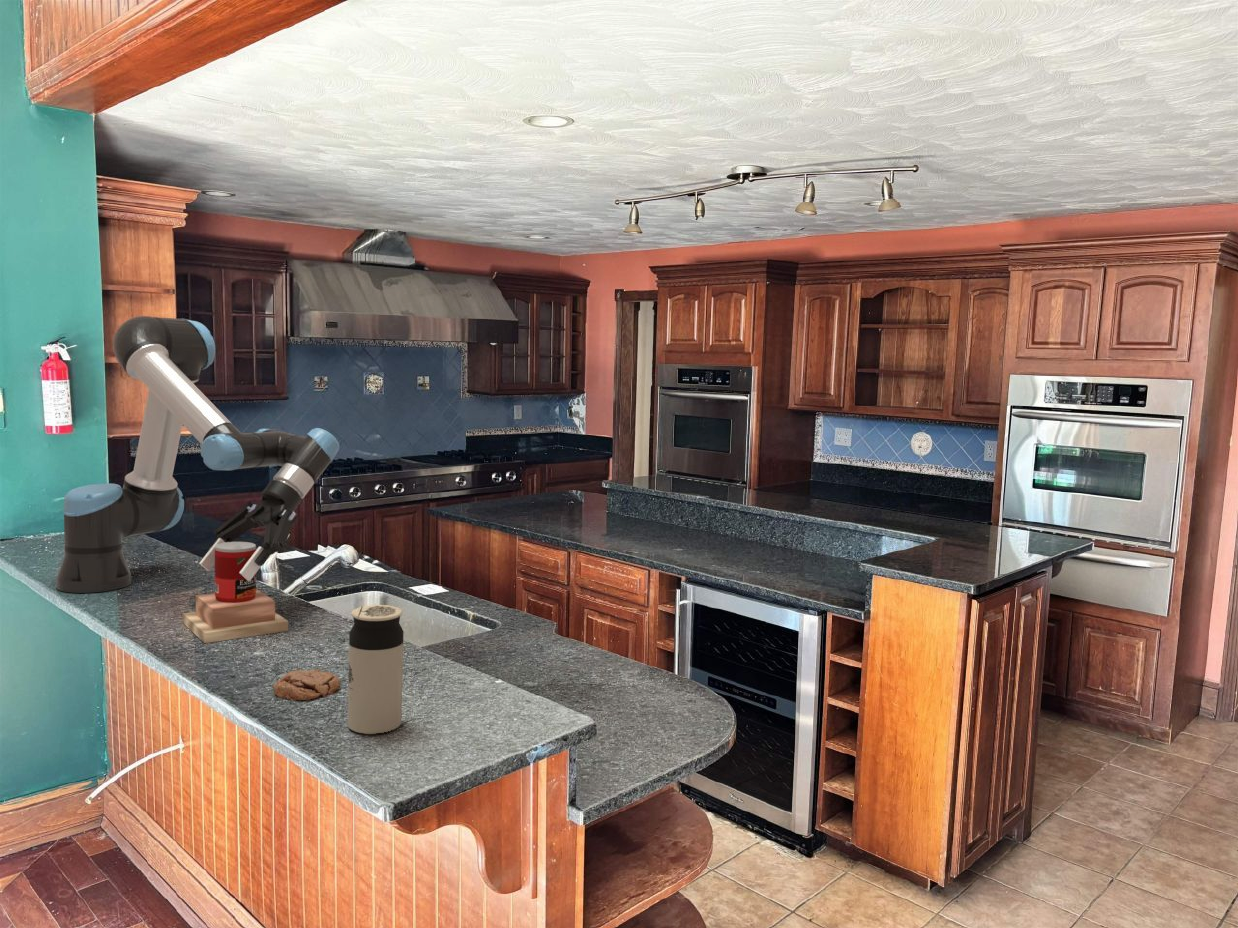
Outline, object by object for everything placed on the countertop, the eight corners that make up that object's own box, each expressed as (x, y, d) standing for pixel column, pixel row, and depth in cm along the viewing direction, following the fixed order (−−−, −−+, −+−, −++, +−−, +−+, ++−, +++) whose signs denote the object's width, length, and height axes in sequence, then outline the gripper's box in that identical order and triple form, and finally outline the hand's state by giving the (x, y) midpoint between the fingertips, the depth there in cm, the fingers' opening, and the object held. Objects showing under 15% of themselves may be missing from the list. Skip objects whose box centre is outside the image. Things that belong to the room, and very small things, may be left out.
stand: (182, 622, 184) (182, 594, 183) (261, 612, 194) (262, 585, 194) (204, 643, 172) (204, 612, 171) (288, 630, 182) (288, 602, 181)
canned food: (241, 604, 178) (241, 550, 177) (205, 600, 179) (205, 547, 178) (264, 595, 185) (264, 543, 184) (229, 591, 187) (229, 540, 186)
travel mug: (406, 716, 141) (408, 605, 139) (395, 736, 133) (397, 619, 131) (355, 714, 141) (357, 603, 139) (341, 734, 133) (343, 617, 131)
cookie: (350, 693, 151) (350, 676, 150) (288, 707, 143) (288, 689, 143) (323, 676, 158) (323, 660, 157) (263, 689, 150) (263, 672, 150)
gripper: (336, 507, 188) (275, 592, 176) (260, 494, 200) (198, 573, 188) (316, 484, 183) (252, 570, 171) (239, 473, 194) (174, 552, 183)
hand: (223, 572), depth 179 cm, fingers open, 12 cm apart
